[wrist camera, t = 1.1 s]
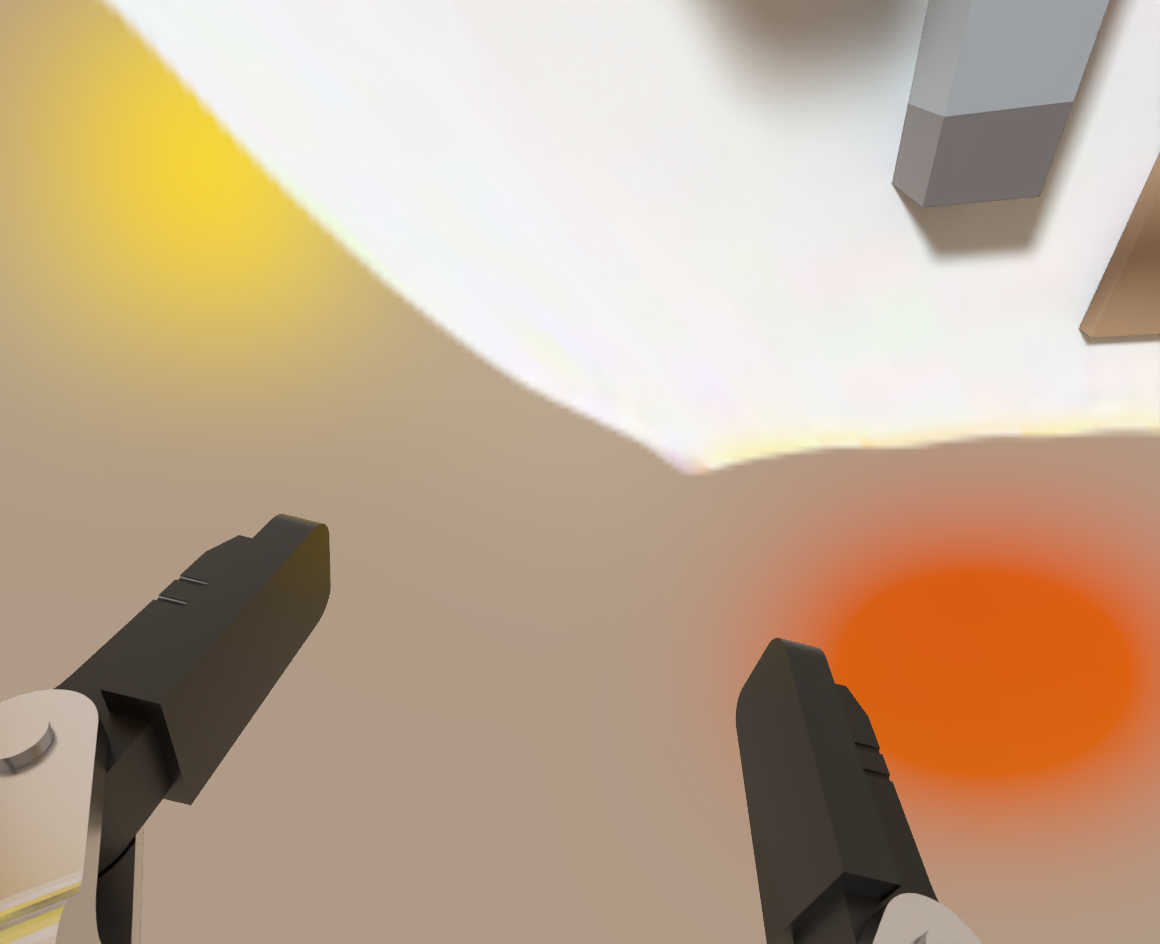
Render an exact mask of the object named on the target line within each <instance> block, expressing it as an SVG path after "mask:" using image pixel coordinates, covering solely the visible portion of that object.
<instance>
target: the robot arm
mask: <svg viewBox="0 0 1160 944" xmlns="http://www.w3.org/2000/svg"><path fill="white" fill-rule="evenodd" d="M329 594H330V553H329V531H328V528H327V526H326V525H325V524H322V523H317V522H313V521H309V520H305V519H301V518H297V517H293V516H289V515H285V514H279V515H277V516H275V517H274V518H273V519H272V520H270V521H269V522H268V524H267V525H265V526H264V527H263V528H262V529H261V530H260V531H259V532H258V533H257V534H256V535H255V536H254V537H253V538H248V537H244V536H237V537H235V538H233V539H230V540H229V541H226V542H225V543H222V544H220V545H218V546H216V547H214V548H212V549H210V550H208V551H206V552H205V553H204V554H203V555H202V556H201V557H199V558H198V559H197V560H196V561H195V562H194V563H193V564H192V565H191V566H190V567H189V568H188V569H186V570H185V571H184V572H183V573H182V574H181V575H180V579H179V580H174V581H173V582H172V583H171V584H170V585H169V586H168V587H167V588H166V589H165V590H164V591H162V592H161V593H160V594H159V598H158V599H157V600H153V601H152V602H150V603H149V604H148V605H147V606H146V607H145V608H144V609H143V610H142V611H141V612H140V613H138V614H137V615H136V616H135V617H134V618H133V619H132V620H131V621H130V622H129V623H128V624H126V625H125V626H124V627H123V628H122V629H121V630H120V631H119V632H118V633H117V634H116V635H114V636H113V637H112V638H111V639H110V640H109V641H108V642H107V643H106V644H105V645H104V646H102V647H101V648H100V649H99V650H98V651H97V652H96V653H95V654H94V655H93V656H92V657H91V658H89V659H88V661H86V662H85V663H84V664H83V665H82V666H81V667H80V668H78V670H76V671H75V672H74V673H73V674H72V675H71V676H70V677H69V678H67V679H66V680H65V681H64V682H63V683H61V684H60V685H59V686H57V687H56V688H54V689H53V690H41V691H37V692H30V693H27V694H23V695H20V696H16V697H13V698H11V699H8V700H6V701H3V702H1V703H0V944H140V941H141V910H142V909H141V908H142V878H143V877H142V876H143V846H144V845H143V844H144V828H143V825H144V823H145V822H146V820H147V819H148V818H149V816H150V815H151V814H152V812H153V811H154V810H155V808H156V807H157V806H158V804H159V803H160V802H161V800H162V799H167V800H171V801H176V802H180V803H184V804H188V805H191V804H192V803H193V801H194V800H195V798H196V797H197V796H198V794H199V793H200V791H201V790H202V789H203V787H204V785H205V784H206V783H207V781H208V780H209V778H210V777H211V776H212V774H213V773H214V771H215V770H216V768H217V767H218V766H219V764H220V763H221V761H222V760H223V758H224V757H225V756H226V754H227V753H228V751H229V750H230V748H231V747H232V745H233V744H234V743H235V741H236V739H237V738H238V737H239V735H240V734H241V733H242V731H243V730H244V728H245V727H246V725H247V724H248V722H249V721H250V720H251V718H252V717H253V715H254V714H255V712H256V711H257V710H258V708H259V707H260V705H261V704H262V702H263V701H264V700H265V698H266V697H267V695H268V694H269V692H270V691H271V689H272V688H273V687H274V685H275V684H276V682H277V681H278V679H279V678H280V677H281V675H282V674H283V672H284V671H285V669H286V668H287V666H288V665H289V664H290V662H291V661H292V659H293V658H294V656H295V655H296V654H297V652H298V651H299V649H300V648H301V646H302V645H303V643H304V642H305V640H306V639H307V638H308V636H309V635H310V633H311V632H312V631H313V629H314V628H315V626H316V625H317V623H318V622H319V620H320V618H321V617H322V615H323V612H324V610H325V608H326V605H327V602H328V599H329ZM736 728H737V735H738V742H739V749H740V756H741V764H742V770H743V778H744V784H745V792H746V799H747V806H748V813H749V820H750V827H751V834H752V841H753V848H754V855H755V863H756V870H757V876H758V884H759V891H760V898H761V905H762V912H763V919H764V926H765V933H766V940H767V944H981V942H980V941H979V940H978V938H977V937H976V935H975V934H974V933H973V932H972V931H971V930H970V929H969V927H968V926H967V925H966V924H965V923H964V922H963V921H962V920H961V919H959V917H957V916H956V915H955V914H954V913H953V912H951V911H950V910H949V909H948V908H946V907H945V906H943V905H942V904H940V903H939V902H938V900H937V898H936V896H935V893H934V891H933V889H932V886H931V884H930V881H929V878H928V876H927V873H926V870H925V868H924V865H923V862H922V859H921V857H920V854H919V852H918V849H917V846H916V843H915V841H914V838H913V835H912V833H911V830H910V827H909V825H908V822H907V820H906V817H905V814H904V811H903V809H902V806H901V803H900V800H899V798H898V796H897V793H896V790H895V787H894V784H893V782H891V781H890V780H889V776H890V774H889V771H888V768H887V766H886V763H885V760H884V758H883V755H882V754H880V753H879V749H880V747H879V744H878V742H877V739H876V736H875V733H874V731H873V728H872V725H871V723H870V720H869V718H868V716H867V714H866V713H865V711H864V710H863V709H862V708H861V706H860V705H859V703H858V702H857V701H856V699H855V698H854V697H853V695H852V694H851V692H850V691H849V689H848V688H847V687H846V686H843V685H839V684H835V683H834V680H833V677H832V674H831V671H830V668H829V665H828V662H827V659H826V657H825V654H824V653H823V651H822V650H821V649H819V648H817V647H813V646H808V645H805V644H801V643H797V642H792V641H788V640H785V639H780V638H775V639H773V640H772V641H771V642H770V643H769V645H768V646H767V648H766V650H765V651H764V653H763V655H762V657H761V658H760V660H759V661H758V663H757V665H756V666H755V668H754V670H753V671H752V673H751V675H750V677H749V678H748V680H747V682H746V683H745V685H744V686H743V688H742V690H741V693H740V695H739V698H738V703H737V709H736Z"/></svg>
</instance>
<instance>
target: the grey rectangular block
mask: <svg viewBox="0 0 1160 944" xmlns="http://www.w3.org/2000/svg"><path fill="white" fill-rule="evenodd" d="M1108 3H1109V0H929V2H928V7H927V12H926V17H925V22H924V27H923V32H922V37H921V42H920V47H919V52H918V57H917V62H916V67H915V72H914V77H913V82H912V87H911V92H910V97H909V102H908V107H907V112H906V116H905V121H904V126H903V131H902V136H901V141H900V146H899V151H898V156H897V161H896V166H895V171H894V176H893V181H892V184H893V185H894V186H895V187H897V188H898V189H899V190H901V191H902V192H903V193H904V194H906V195H907V196H908V197H910V198H911V199H912V200H914V201H915V202H916V203H917V204H919V205H920V206H921V207H933V206H943V205H954V204H965V203H975V202H986V201H997V200H1007V199H1018V198H1029V197H1039V196H1040V194H1041V191H1042V188H1043V185H1044V183H1045V180H1046V177H1047V174H1048V171H1049V168H1050V166H1051V163H1052V160H1053V157H1054V154H1055V152H1056V149H1057V146H1058V143H1059V140H1060V138H1061V135H1062V132H1063V129H1064V126H1065V124H1066V121H1067V118H1068V115H1069V112H1070V110H1071V107H1072V104H1073V101H1074V98H1075V96H1076V93H1077V90H1078V87H1079V84H1080V81H1081V79H1082V76H1083V73H1084V70H1085V67H1086V65H1087V62H1088V59H1089V56H1090V53H1091V51H1092V48H1093V45H1094V42H1095V39H1096V37H1097V34H1098V31H1099V28H1100V25H1101V23H1102V20H1103V17H1104V14H1105V11H1106V8H1107V6H1108Z"/></svg>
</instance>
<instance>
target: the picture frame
mask: <svg viewBox="0 0 1160 944" xmlns="http://www.w3.org/2000/svg"><path fill="white" fill-rule="evenodd" d="M1079 329H1080V330H1081V331H1083V332H1084V333H1085V334H1086V335H1088V336H1089V337H1090V338H1094V337H1114V336H1133V335H1153V334H1160V153H1159V156H1158V158H1157V160H1156V162H1155V164H1154V166H1153V169H1152V171H1151V173H1150V175H1149V177H1148V180H1147V182H1146V184H1145V186H1144V188H1143V190H1142V193H1141V195H1140V197H1139V199H1138V201H1137V203H1136V206H1135V208H1134V210H1133V212H1132V214H1131V216H1130V219H1129V221H1128V223H1127V225H1126V227H1125V230H1124V232H1123V234H1122V236H1121V238H1120V240H1119V243H1118V245H1117V247H1116V249H1115V251H1114V253H1113V256H1112V258H1111V260H1110V262H1109V264H1108V266H1107V269H1106V271H1105V273H1104V275H1103V277H1102V280H1101V282H1100V284H1099V286H1098V288H1097V290H1096V293H1095V295H1094V297H1093V299H1092V301H1091V303H1090V306H1089V308H1088V310H1087V312H1086V314H1085V317H1084V319H1083V321H1082V323H1081V325H1080V327H1079Z"/></svg>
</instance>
